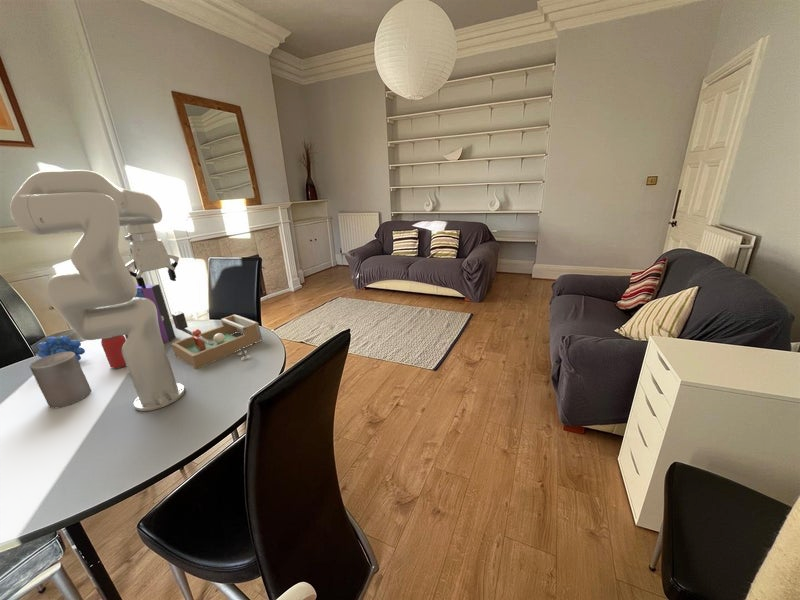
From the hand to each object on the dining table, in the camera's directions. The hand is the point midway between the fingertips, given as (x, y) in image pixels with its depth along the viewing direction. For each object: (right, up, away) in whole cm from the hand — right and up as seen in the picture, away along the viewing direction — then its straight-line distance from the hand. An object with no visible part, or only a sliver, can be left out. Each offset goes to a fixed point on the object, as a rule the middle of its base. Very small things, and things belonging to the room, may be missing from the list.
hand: (158, 284), depth 120 cm
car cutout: (+34, -29, -2) cm, 44 cm away
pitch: (+18, -25, +9) cm, 32 cm away
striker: (+12, -24, +4) cm, 27 cm away
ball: (+18, -21, +8) cm, 28 cm away
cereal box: (-17, -23, +19) cm, 34 cm away
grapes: (-35, -30, +1) cm, 46 cm away
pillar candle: (-13, -36, -19) cm, 43 cm away
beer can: (-13, -30, 0) cm, 33 cm away
